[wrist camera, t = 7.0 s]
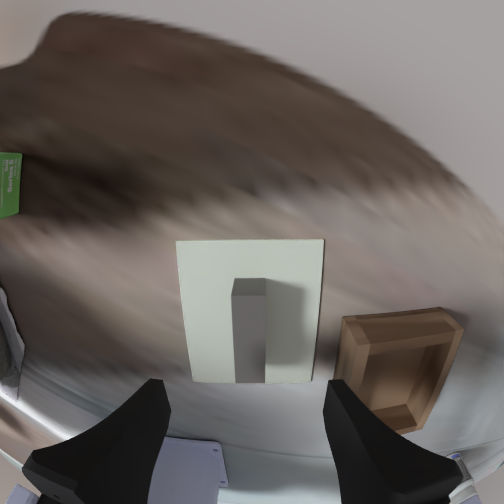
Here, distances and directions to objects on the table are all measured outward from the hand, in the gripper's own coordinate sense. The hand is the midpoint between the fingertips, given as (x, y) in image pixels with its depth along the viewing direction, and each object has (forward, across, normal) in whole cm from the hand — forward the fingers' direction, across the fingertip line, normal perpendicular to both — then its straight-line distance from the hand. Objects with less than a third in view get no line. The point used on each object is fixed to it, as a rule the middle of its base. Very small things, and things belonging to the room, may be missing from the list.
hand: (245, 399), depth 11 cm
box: (+7, -10, +5) cm, 13 cm away
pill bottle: (+7, -27, +27) cm, 39 cm away
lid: (+8, 0, 0) cm, 8 cm away
